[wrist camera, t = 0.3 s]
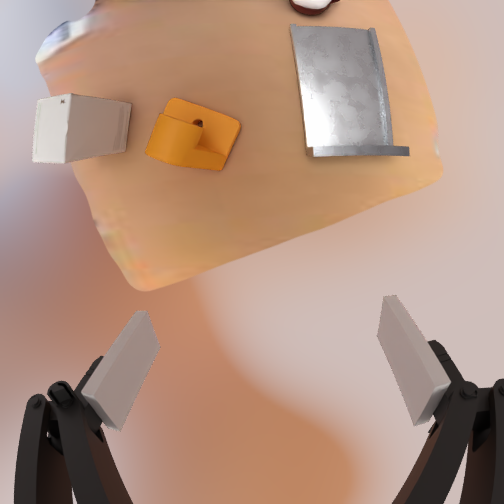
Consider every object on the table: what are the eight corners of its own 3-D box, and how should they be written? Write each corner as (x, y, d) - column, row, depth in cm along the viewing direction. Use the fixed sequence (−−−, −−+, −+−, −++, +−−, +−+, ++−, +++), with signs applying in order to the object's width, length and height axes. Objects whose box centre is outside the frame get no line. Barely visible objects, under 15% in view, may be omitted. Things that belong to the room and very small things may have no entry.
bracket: (243, 123, 35) (231, 113, 24) (223, 169, 38) (202, 178, 27) (177, 98, 34) (141, 83, 23) (158, 143, 37) (117, 144, 26)
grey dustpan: (289, 29, 29) (292, 8, 23) (370, 32, 28) (386, 16, 21) (306, 155, 36) (314, 156, 30) (388, 153, 35) (409, 156, 29)
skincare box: (102, 103, 35) (36, 96, 20) (135, 103, 35) (72, 89, 20) (95, 152, 38) (29, 162, 23) (127, 154, 38) (63, 164, 23)
